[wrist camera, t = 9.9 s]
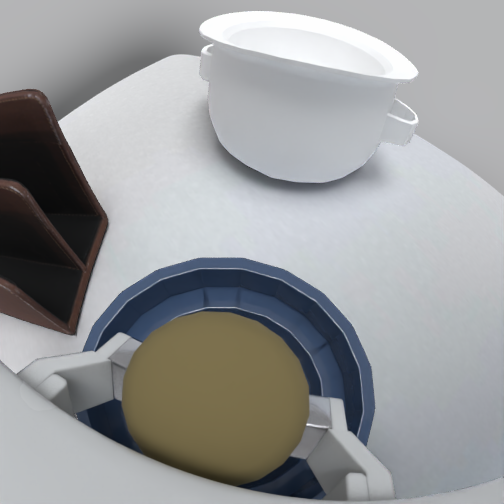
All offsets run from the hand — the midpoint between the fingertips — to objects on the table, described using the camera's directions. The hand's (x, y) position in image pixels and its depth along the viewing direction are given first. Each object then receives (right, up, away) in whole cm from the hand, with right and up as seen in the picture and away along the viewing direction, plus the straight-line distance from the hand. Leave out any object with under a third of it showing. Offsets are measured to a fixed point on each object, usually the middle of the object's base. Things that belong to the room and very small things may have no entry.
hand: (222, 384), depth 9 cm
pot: (+5, +16, +19) cm, 25 cm away
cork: (-1, -4, +6) cm, 8 cm away
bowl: (-1, -5, +6) cm, 8 cm away
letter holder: (-21, +4, +10) cm, 23 cm away
